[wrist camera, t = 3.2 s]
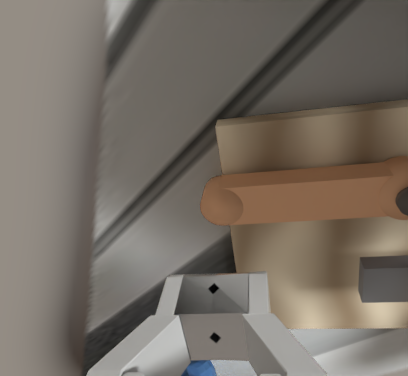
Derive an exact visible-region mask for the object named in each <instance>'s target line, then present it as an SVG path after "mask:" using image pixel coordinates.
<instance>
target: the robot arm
mask: <svg viewBox="0 0 408 376" xmlns="http://www.w3.org/2000/svg"><path fill="white" fill-rule="evenodd" d="M191 360H242V361H249V362H250V364H251V366H252V367H253V369H254V371H255V372H256V374H257V376H327V373H326V372H325V371H324V370H323V369H322V367H321V366H320V365H319V364H318V363H317V362H316V361H315V359H314V358H313V357H312V356H311V355H310V354H309V353H308V351H307V350H306V349H305V348H304V347H303V346H302V345H301V344H300V342H299V341H298V340H297V339H296V338H295V337H294V336H293V334H292V333H291V332H290V331H289V330H288V329H287V328H286V327H285V325H284V324H283V323H282V322H281V321H280V320H279V319H278V317H277V316H276V315H275V314H274V313H271V308H270V297H269V287H268V276H267V272H266V271H258V272H250V273H249V272H245V273H223V274H185V275H168V277H167V278H166V280H165V284H164V287H163V290H162V294H161V297H160V300H159V304H158V307H157V310H156V314H155V316H149V317H148V318H147V319H146V320H145V321H144V322H143V323H141V324H140V325H139V326H138V327H137V328H136V329H135V330H134V331H132V332H131V333H130V334H129V335H128V336H127V337H126V338H125V339H123V340H122V341H121V342H120V343H119V344H118V345H117V346H116V347H114V348H113V349H112V350H111V351H110V352H109V353H108V354H107V355H106V356H104V357H103V358H102V359H101V360H100V361H99V362H98V363H97V364H95V365H94V366H93V367H92V368H91V369H90V370H89V371H88V373H87V376H181V375H182V373H183V372H184V371H185V369H186V368H187V367H188V365H189V364H190V363H191Z"/></svg>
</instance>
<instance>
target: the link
mask: <svg viewBox="0 0 408 376" xmlns="http://www.w3.org/2000/svg"><path fill="white" fill-rule="evenodd" d="M407 187H408V156H398V157H393V158H390V159H388V160H386V161H384V162H380V163H368V164H355V165H343V166H331V167H318V168H306V169H293V170H281V171H268V172H256V173H244V174H231V175H220V176H216V177H213V178H212V179H210V180H209V181H208V182H207V183H206V185H205V188H204V191H203V195H202V199H201V203H200V209H201V212H202V214H203V216H204V217H205V218H206V219H207V220H208V221H209V222H211V223H213V224H216V225H242V224H260V223H278V222H296V221H314V220H332V219H350V218H368V217H386V216H389V217H391V218H394V219H398V220H408V216H407V215H404V214H403V213H401V211H400V210H399V208H398V207H397V205H396V202H395V200H396V196H397V194H398V193H399V192H400V191H401V190H403V189H404V188H407Z"/></svg>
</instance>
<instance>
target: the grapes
mask: <svg viewBox="0 0 408 376" xmlns="http://www.w3.org/2000/svg"><path fill="white" fill-rule="evenodd" d="M181 376H217V375H216V371H215V368H214V366H213V364H212V363H211V361H210V360H191V363H190V364H189V365H188V367H187V368H186V369H185V371H184V372H183V373H182V375H181Z"/></svg>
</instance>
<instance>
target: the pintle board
mask: <svg viewBox="0 0 408 376" xmlns="http://www.w3.org/2000/svg"><path fill="white" fill-rule="evenodd" d="M215 129H216V135H217V142H218V149H219V156H220V163H221V170H222V175H231V174H244V173H256V172H268V171H281V170H293V169H306V168H318V167H331V166H343V165H355V164H368V163H380V162H384V161H386V160H388V159H390V158H393V157H398V156H408V99H405V100H395V101H386V102H377V103H368V104H358V105H349V106H340V107H331V108H321V109H312V110H303V111H294V112H285V113H275V114H266V115H257V116H248V117H238V118H229V119H220V120H217V123H216V126H215ZM395 202H396V205H397V207H398V208H399V210H400V211H401V213H403V214H404V215H407V216H408V187H407V188H404V189H403V190H401V191H400V192H399V193H398V194H397V196H396V200H395ZM230 231H231V238H232V245H233V252H234V259H235V265H236V272H237V273H245V272H249V273H250V272H258V271H266V272H267V276H268V287H269V297H270V308H271V313H274V314H275V315H276V316H277V317H278V319H279V320H280V321H281V322H282V323H283V324H284V325H285V327H286V328H287V329H351V328H408V220H398V219H394V218H391V217H389V216H386V217H368V218H350V219H332V220H314V221H296V222H278V223H260V224H242V225H230Z"/></svg>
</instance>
